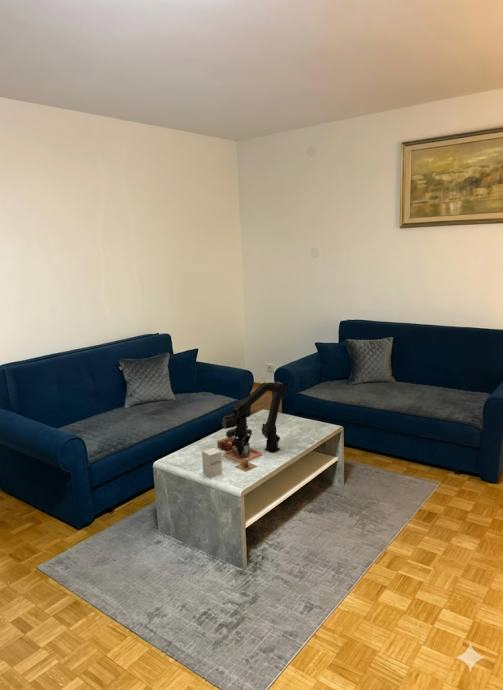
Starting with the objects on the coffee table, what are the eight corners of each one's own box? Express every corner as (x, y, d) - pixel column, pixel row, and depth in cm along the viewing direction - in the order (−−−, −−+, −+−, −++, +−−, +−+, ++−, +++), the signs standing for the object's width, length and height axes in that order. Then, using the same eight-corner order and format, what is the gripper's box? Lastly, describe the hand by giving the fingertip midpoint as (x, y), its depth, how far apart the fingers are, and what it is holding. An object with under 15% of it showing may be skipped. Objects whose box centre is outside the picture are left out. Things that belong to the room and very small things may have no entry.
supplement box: (210, 478, 251) (209, 455, 249) (202, 473, 257) (201, 450, 255) (222, 474, 255) (221, 451, 253) (214, 469, 261) (213, 447, 259)
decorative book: (234, 455, 279) (233, 447, 278) (215, 447, 290) (215, 439, 289) (248, 449, 286) (248, 441, 285) (230, 442, 298) (230, 434, 297)
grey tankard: (251, 452, 278) (250, 441, 277) (248, 457, 271) (247, 446, 270) (235, 451, 280) (235, 441, 279) (232, 456, 274) (231, 446, 272)
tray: (243, 448, 287) (243, 445, 286) (262, 456, 276) (261, 452, 275) (223, 456, 277) (223, 453, 276) (241, 465, 266) (241, 461, 265)
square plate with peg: (246, 462, 269) (246, 456, 268) (258, 467, 262) (258, 461, 262) (234, 467, 263) (233, 461, 262) (245, 472, 256) (245, 466, 256)
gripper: (233, 418, 284) (234, 444, 287) (221, 430, 266) (223, 457, 269) (251, 419, 280) (252, 445, 283) (241, 431, 263) (242, 459, 266)
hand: (242, 451), depth 276 cm, fingers closed on grey tankard, 7 cm apart
